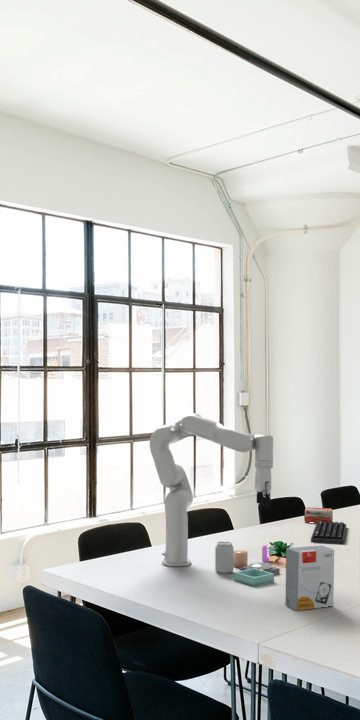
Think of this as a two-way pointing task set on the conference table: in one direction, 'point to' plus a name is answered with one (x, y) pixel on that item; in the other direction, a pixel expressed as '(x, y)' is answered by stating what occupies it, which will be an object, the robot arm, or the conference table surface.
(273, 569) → the base
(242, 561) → the peach rounded knob
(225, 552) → the can
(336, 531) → the computer keyboard
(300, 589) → the hard drive box
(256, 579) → the trough
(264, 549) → the bracket
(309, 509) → the medicine box
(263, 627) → the conference table surface
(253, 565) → the checker pad
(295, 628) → the conference table surface
